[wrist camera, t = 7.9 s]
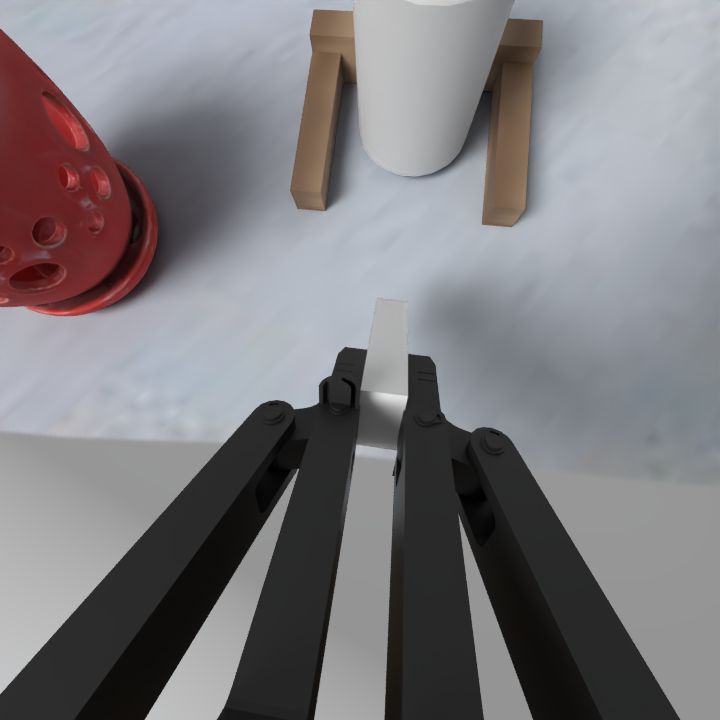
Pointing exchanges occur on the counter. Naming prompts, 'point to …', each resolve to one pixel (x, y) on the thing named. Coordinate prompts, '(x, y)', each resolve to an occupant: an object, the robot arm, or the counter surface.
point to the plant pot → (63, 201)
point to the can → (422, 76)
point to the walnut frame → (504, 80)
